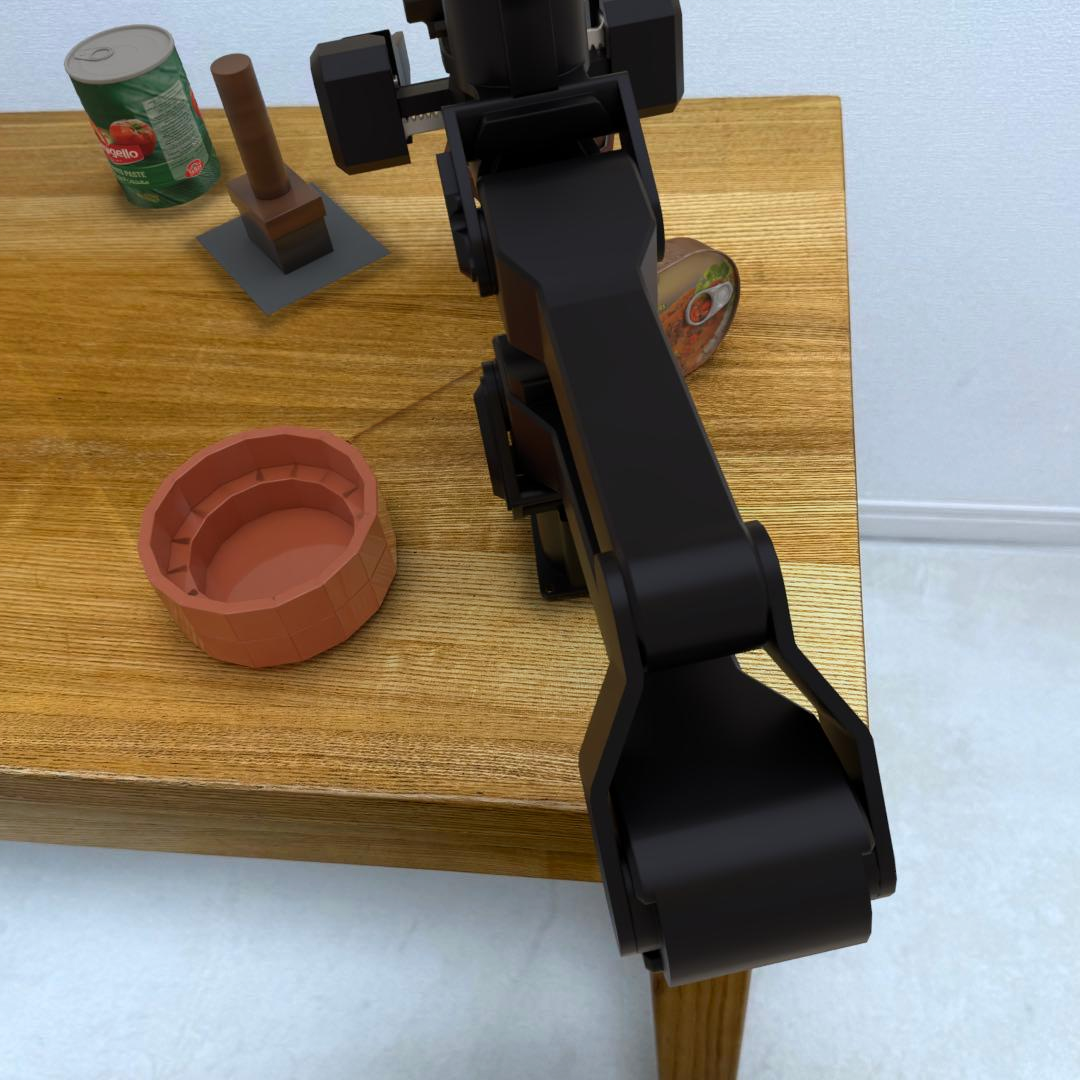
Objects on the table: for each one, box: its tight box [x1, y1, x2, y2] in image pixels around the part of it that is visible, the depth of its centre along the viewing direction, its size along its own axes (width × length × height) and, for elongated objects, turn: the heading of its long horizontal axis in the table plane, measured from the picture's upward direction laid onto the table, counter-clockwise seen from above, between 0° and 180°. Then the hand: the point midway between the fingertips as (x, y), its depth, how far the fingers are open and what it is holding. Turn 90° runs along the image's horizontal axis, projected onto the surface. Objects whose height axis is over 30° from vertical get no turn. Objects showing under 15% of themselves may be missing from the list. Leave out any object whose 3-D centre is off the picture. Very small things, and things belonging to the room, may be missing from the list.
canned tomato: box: [63, 23, 222, 210], centre depth 81 cm, size 8×8×11 cm
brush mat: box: [195, 182, 392, 316], centre depth 78 cm, size 12×10×1 cm
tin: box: [657, 236, 742, 378], centre depth 63 cm, size 15×3×8 cm, turn 126°
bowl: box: [136, 424, 398, 669], centre depth 57 cm, size 12×12×6 cm
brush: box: [209, 52, 334, 275], centre depth 73 cm, size 6×4×14 cm
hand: (480, 25), depth 61 cm, fingers open, 9 cm apart
